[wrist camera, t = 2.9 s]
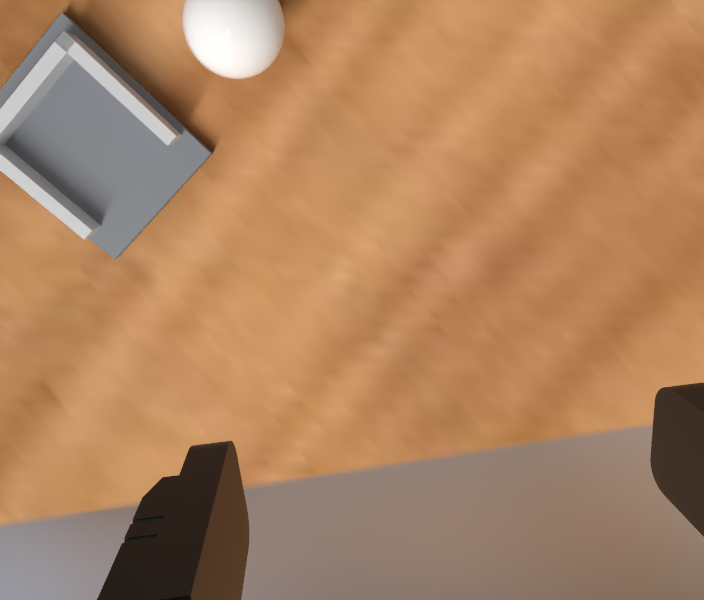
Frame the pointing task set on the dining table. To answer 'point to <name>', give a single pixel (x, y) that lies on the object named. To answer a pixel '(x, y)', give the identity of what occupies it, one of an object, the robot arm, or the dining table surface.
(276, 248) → the dining table surface
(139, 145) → the u holder
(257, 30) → the lightbulb
